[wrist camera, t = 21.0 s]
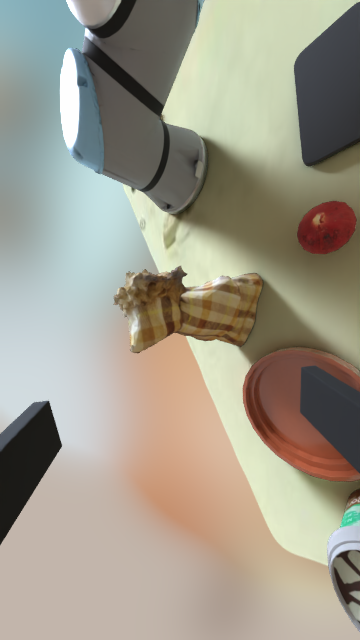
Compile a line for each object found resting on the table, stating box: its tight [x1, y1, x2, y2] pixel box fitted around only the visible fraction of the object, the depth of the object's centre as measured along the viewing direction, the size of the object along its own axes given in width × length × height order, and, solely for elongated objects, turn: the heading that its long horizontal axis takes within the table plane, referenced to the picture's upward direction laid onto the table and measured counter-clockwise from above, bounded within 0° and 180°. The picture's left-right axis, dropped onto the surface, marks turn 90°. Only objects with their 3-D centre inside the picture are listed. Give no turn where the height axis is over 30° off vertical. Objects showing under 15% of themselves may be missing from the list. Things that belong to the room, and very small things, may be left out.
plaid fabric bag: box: [114, 266, 263, 353], centre depth 30 cm, size 14×14×25 cm
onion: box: [297, 201, 357, 254], centre depth 24 cm, size 6×6×8 cm
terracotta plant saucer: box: [243, 347, 360, 482], centre depth 30 cm, size 18×18×3 cm
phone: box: [294, 2, 360, 166], centre depth 25 cm, size 7×1×15 cm
